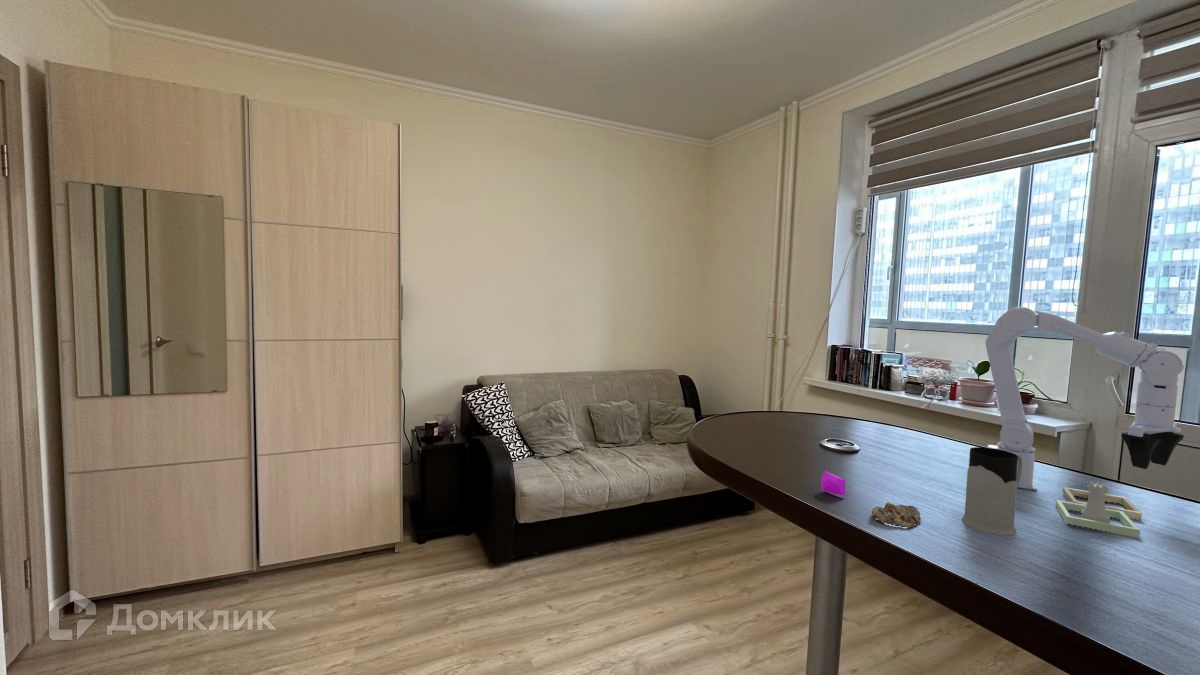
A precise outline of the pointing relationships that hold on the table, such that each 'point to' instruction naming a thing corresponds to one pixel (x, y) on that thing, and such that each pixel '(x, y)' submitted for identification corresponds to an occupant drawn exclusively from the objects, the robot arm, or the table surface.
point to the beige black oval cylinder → (992, 490)
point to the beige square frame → (1131, 509)
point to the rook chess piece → (1096, 503)
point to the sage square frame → (1126, 530)
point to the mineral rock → (897, 515)
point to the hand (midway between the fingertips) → (1149, 465)
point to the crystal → (832, 483)
